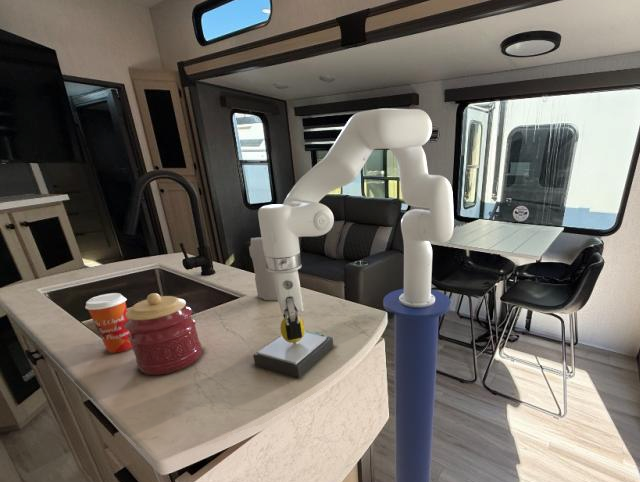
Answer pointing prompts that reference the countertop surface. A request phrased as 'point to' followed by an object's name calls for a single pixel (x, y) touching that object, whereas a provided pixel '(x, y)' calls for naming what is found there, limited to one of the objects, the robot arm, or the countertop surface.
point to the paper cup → (110, 320)
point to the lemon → (284, 333)
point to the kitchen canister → (162, 334)
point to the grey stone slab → (262, 271)
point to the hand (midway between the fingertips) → (292, 328)
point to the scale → (294, 354)
